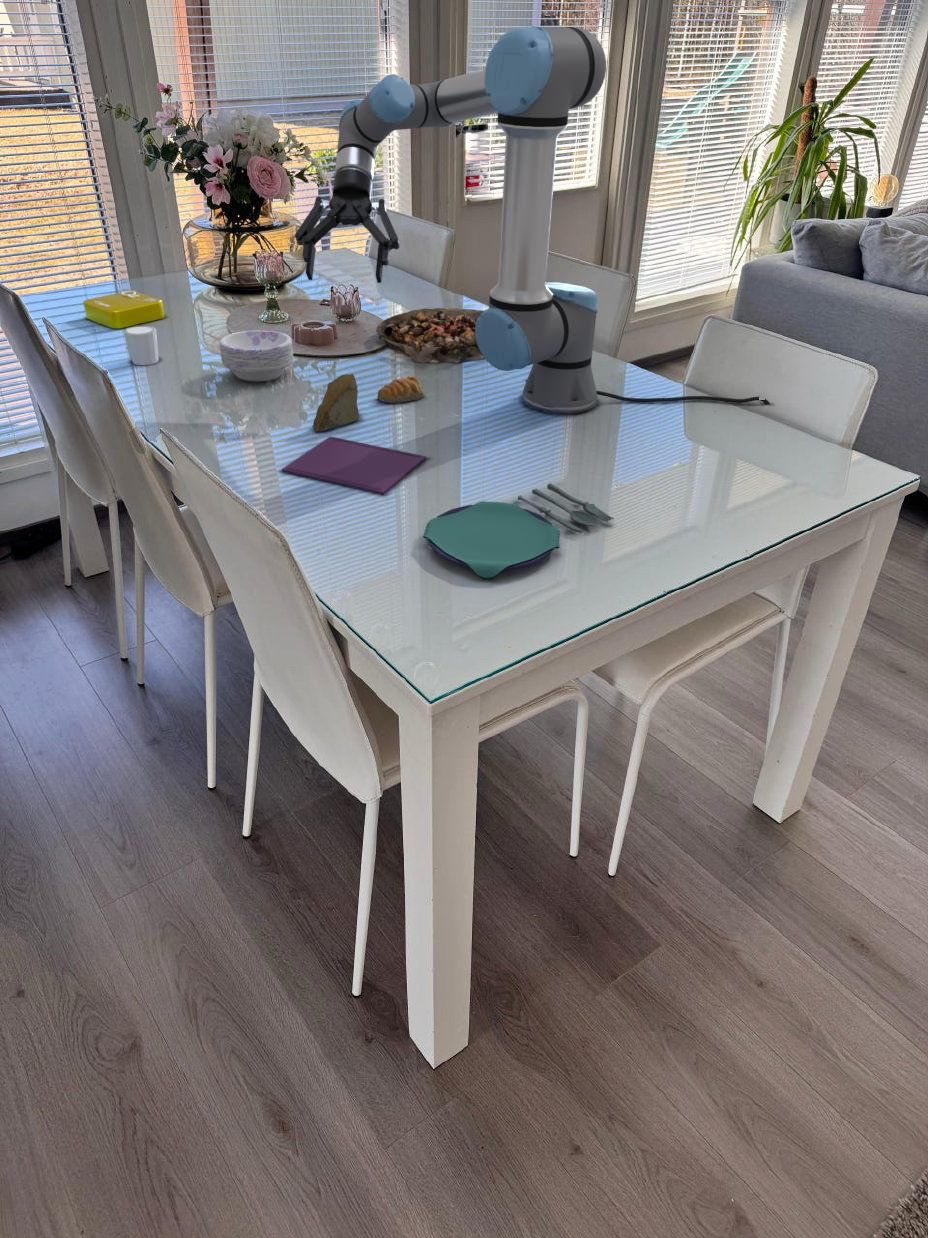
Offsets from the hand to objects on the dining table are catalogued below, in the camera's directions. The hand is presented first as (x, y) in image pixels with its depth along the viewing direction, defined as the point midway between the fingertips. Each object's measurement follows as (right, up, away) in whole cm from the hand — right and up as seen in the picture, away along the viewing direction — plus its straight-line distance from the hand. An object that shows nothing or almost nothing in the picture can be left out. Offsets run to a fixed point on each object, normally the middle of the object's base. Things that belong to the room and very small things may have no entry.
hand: (343, 277), depth 172 cm
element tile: (-63, +11, +55) cm, 85 cm away
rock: (-2, -28, +1) cm, 28 cm away
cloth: (+4, -39, -15) cm, 42 cm away
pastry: (+10, -20, +13) cm, 26 cm away
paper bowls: (-21, -13, +22) cm, 33 cm away
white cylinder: (-49, -8, +28) cm, 57 cm away
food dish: (+19, +2, +45) cm, 49 cm away
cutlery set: (+32, -53, -35) cm, 71 cm away
